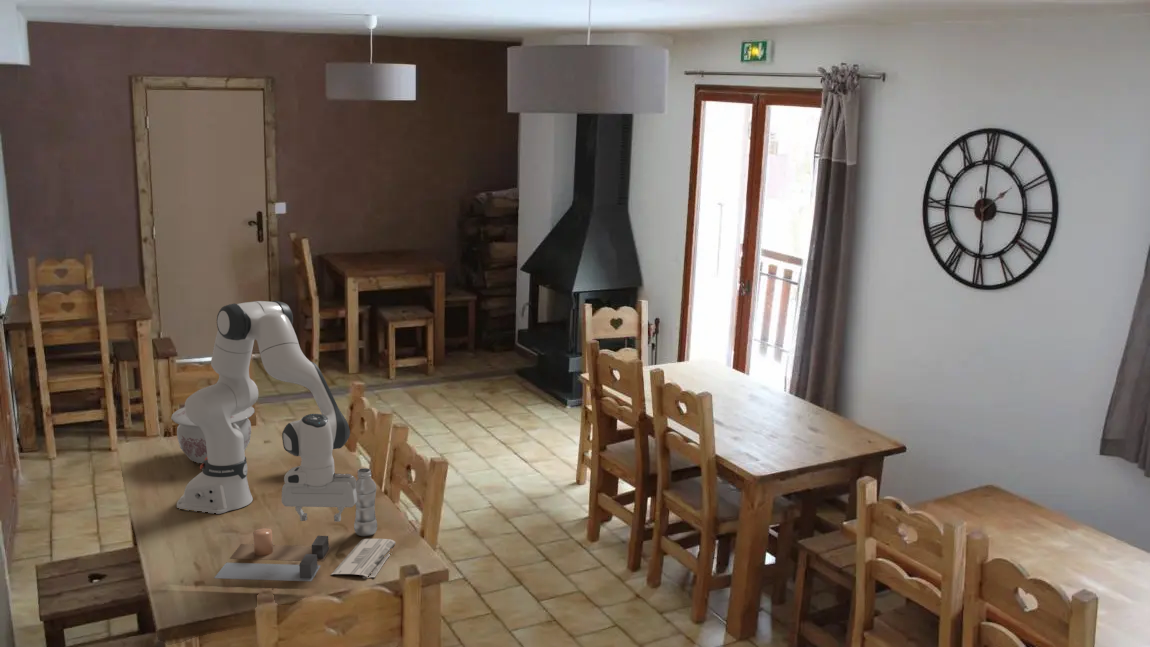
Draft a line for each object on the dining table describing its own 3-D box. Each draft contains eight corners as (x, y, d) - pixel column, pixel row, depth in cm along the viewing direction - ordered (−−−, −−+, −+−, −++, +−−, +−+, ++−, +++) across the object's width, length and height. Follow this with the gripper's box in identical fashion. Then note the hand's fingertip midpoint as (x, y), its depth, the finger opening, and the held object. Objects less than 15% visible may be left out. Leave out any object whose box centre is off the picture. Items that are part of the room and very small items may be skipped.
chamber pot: (186, 445, 370) (182, 390, 365) (264, 443, 373) (261, 389, 368) (164, 474, 343) (159, 415, 338) (248, 472, 346) (245, 414, 341)
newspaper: (373, 582, 273) (372, 574, 273) (331, 582, 275) (329, 573, 275) (402, 545, 295) (401, 537, 294) (363, 545, 297) (362, 537, 297)
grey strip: (214, 582, 270) (212, 564, 269) (226, 566, 279) (225, 549, 278) (311, 585, 269) (310, 567, 268) (321, 569, 278) (320, 551, 277)
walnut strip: (229, 562, 281) (228, 544, 280) (241, 547, 290) (240, 530, 289) (323, 565, 281) (322, 547, 279) (332, 550, 289) (331, 533, 288)
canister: (251, 555, 283) (250, 535, 281) (257, 547, 288) (256, 527, 286) (269, 556, 283) (268, 536, 281) (275, 548, 288) (274, 528, 286)
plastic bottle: (355, 529, 303) (353, 466, 299) (378, 529, 304) (377, 466, 299) (352, 539, 297) (350, 474, 292) (376, 538, 298) (374, 474, 293)
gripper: (358, 469, 282) (360, 516, 285) (285, 468, 283) (288, 515, 286) (353, 478, 276) (355, 525, 279) (278, 477, 276) (281, 524, 280)
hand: (320, 520), depth 282 cm, fingers open, 8 cm apart
